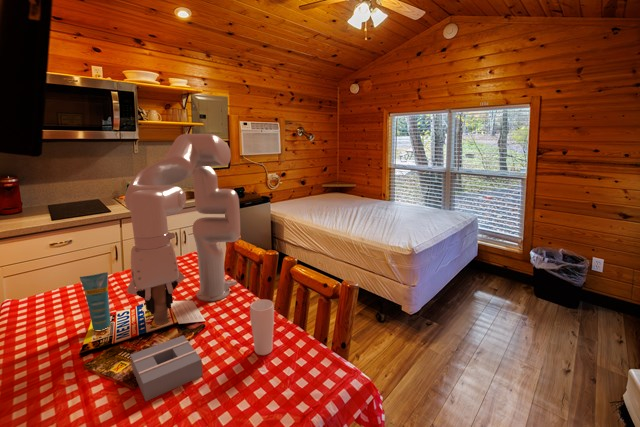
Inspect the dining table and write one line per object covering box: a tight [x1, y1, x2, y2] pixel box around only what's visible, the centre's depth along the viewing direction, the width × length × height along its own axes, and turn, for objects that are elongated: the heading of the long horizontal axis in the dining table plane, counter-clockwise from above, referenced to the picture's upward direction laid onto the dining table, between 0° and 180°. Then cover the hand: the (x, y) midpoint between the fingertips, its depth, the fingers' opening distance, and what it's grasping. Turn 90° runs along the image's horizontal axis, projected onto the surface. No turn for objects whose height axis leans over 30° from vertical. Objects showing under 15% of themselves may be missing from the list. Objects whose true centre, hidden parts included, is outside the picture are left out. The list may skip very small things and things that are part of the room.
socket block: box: [130, 334, 204, 402], centre depth 90 cm, size 14×14×5 cm
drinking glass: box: [249, 298, 275, 356], centre depth 99 cm, size 7×7×15 cm
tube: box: [79, 271, 111, 331], centre depth 109 cm, size 7×5×19 cm, turn 123°
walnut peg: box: [151, 284, 169, 326], centre depth 86 cm, size 4×4×12 cm
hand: (159, 308), depth 86 cm, fingers closed on walnut peg, 3 cm apart
